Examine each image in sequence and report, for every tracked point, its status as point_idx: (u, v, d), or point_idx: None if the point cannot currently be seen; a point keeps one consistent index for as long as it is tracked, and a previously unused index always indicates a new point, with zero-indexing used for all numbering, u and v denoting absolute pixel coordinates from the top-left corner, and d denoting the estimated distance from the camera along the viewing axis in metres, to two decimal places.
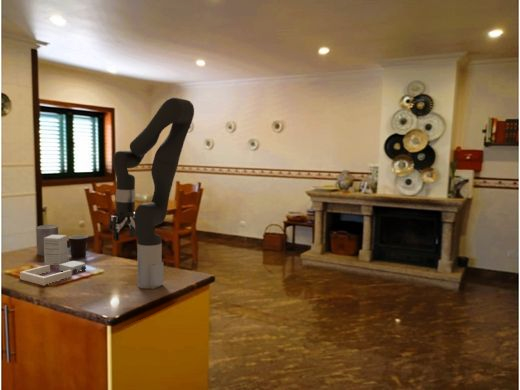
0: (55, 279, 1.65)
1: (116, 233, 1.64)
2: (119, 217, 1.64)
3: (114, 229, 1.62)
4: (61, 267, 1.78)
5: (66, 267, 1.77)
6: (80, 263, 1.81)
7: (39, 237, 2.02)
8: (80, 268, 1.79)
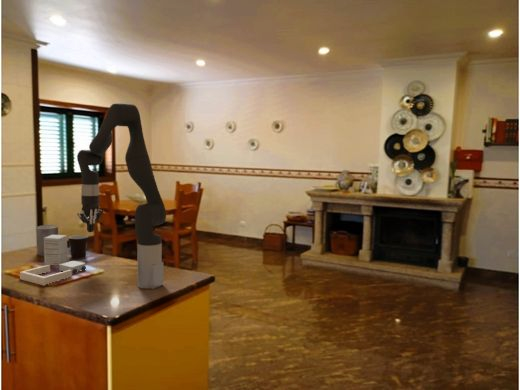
0: (55, 279, 1.65)
1: (89, 225, 1.86)
2: (85, 210, 1.83)
3: (87, 222, 1.84)
4: (61, 267, 1.78)
5: (66, 267, 1.77)
6: (80, 263, 1.81)
7: (39, 237, 2.02)
8: (80, 268, 1.79)
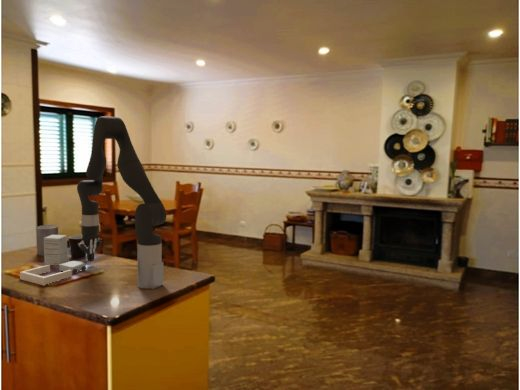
0: (55, 279, 1.65)
1: (89, 254, 1.87)
2: (85, 241, 1.84)
3: (87, 251, 1.85)
4: (61, 267, 1.78)
5: (66, 267, 1.77)
6: (80, 263, 1.81)
7: (39, 237, 2.02)
8: (80, 268, 1.79)
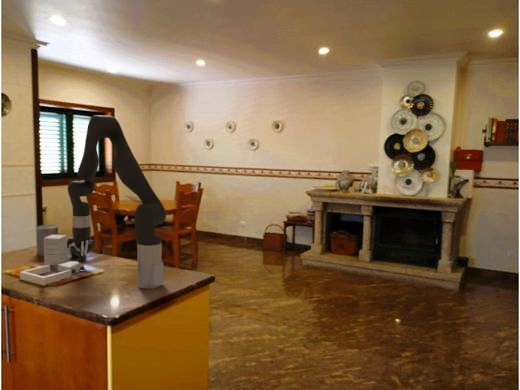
0: (55, 279, 1.65)
1: (80, 257, 1.83)
2: (76, 242, 1.80)
3: (78, 253, 1.81)
4: (59, 267, 1.78)
5: (65, 267, 1.76)
6: (78, 263, 1.81)
7: (39, 237, 2.02)
8: (78, 269, 1.79)
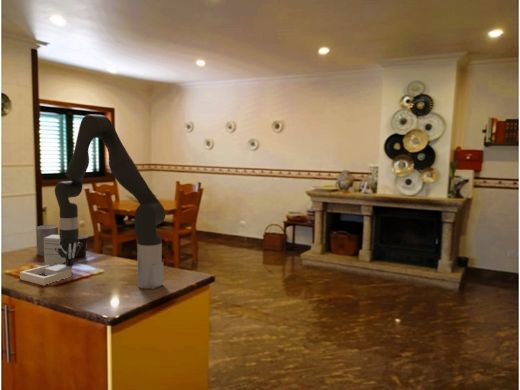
0: (55, 279, 1.65)
1: (68, 259, 1.78)
2: (63, 245, 1.75)
3: (65, 256, 1.76)
4: (46, 271, 1.72)
5: (51, 271, 1.71)
6: (66, 267, 1.75)
7: (39, 237, 2.02)
8: None
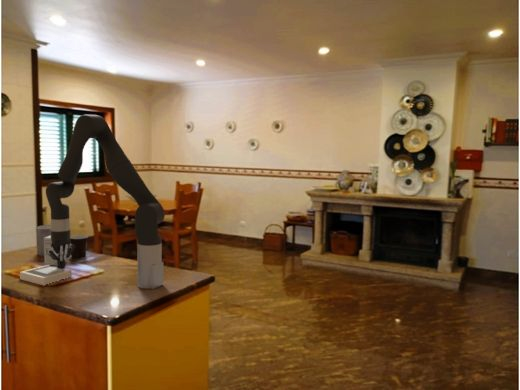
0: (55, 279, 1.65)
1: (59, 262, 1.74)
2: (54, 247, 1.71)
3: (57, 259, 1.72)
4: (37, 273, 1.69)
5: (42, 273, 1.67)
6: (57, 269, 1.71)
7: (39, 237, 2.02)
8: None
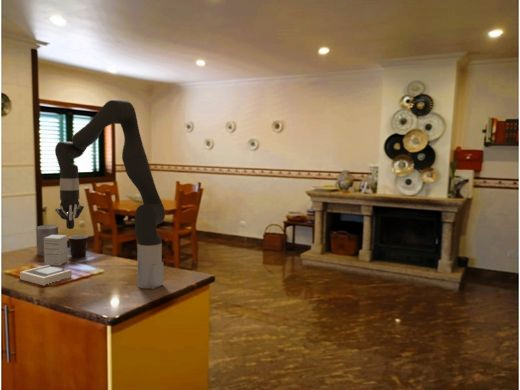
0: (55, 279, 1.65)
1: (69, 221, 1.76)
2: (63, 206, 1.73)
3: (66, 218, 1.74)
4: (37, 273, 1.69)
5: (42, 273, 1.67)
6: (57, 269, 1.71)
7: (39, 237, 2.02)
8: None
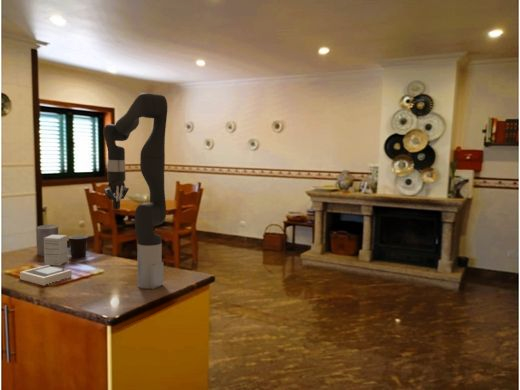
0: (55, 279, 1.65)
1: (115, 202, 1.82)
2: (111, 187, 1.79)
3: (113, 198, 1.80)
4: (37, 273, 1.69)
5: (42, 273, 1.67)
6: (57, 269, 1.71)
7: (39, 237, 2.02)
8: None
